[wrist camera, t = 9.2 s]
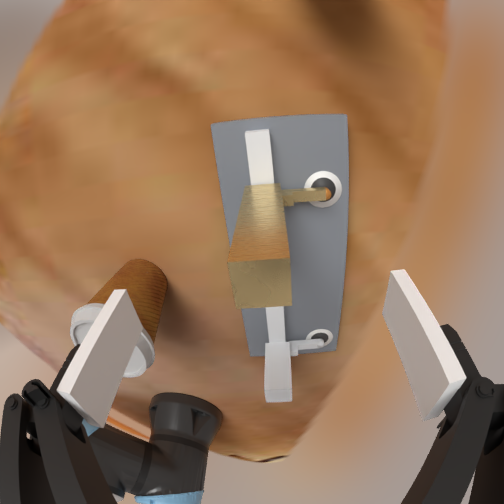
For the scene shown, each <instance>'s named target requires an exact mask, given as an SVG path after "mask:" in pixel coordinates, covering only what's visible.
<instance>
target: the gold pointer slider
mask: <svg viewBox="0 0 504 504" xmlns="http://www.w3.org/2000/svg"><path fill="white" fill-rule="evenodd" d="M330 197H331V192H330V190H329V189H328V188H327V187H316V188H300V189H285V190H281V185H280V183H272V184H260V185H249V186H245V188H244V192H243V196H242V201H241V205H240V209H239V213H238V218H237V222H236V226H235V230H234V235H233V239H232V244H231V248H230V252H229V257H228V261H227V264H228V269H229V274H230V279H231V285H232V290H233V295H234V300H235V305H236V309H245V308H264V307H280V306H292V289H291V266H290V253H289V245H288V237H287V229H286V222H285V214H284V206H294V202H308V201H325V200H328V199H330Z"/></svg>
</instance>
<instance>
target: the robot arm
mask: <svg viewBox="0 0 504 504" xmlns="http://www.w3.org/2000/svg"><path fill="white" fill-rule="evenodd" d="M382 315H383V317H384V319H385V322H386V324H387V326H388V329H389V331H390V333H391V336H392V338H393V341H394V343H395V346H396V348H397V350H398V353H399V356H400V358H401V361H402V364H403V366H404V369H405V372H406V374H407V377H408V380H409V382H410V385H411V388H412V391H413V394H414V397H415V400H416V402H417V406H418V409H419V412H420V415H421V418H422V421H425V420H429V419H432V418H435V417H438V416H439V415H440V413H441V412H442V411H443V410H444V411H445V414H446V416H445V417H444V419H443V420H442V421H441V422H440V423H439V425H438V426H437V428H439V427H440V426H441V427H440V430H439V432H438V434H437V437H436V439H435V441H434V443H433V446H432V448H431V450H430V452H429V454H428V456H427V458H426V460H425V462H424V464H423V466H422V468H421V470H420V472H419V474H418V476H417V477H416V479H415V481H414V483H413V485H412V486H411V488H410V490H409V491H408V493H407V495H406V496H405V498H404V499H403V501H402V503H401V504H460V503H461V502H462V499H463V497H464V495H465V493H466V491H467V488H468V486H469V484H470V481H471V479H472V477H473V474H474V472H475V476H474V481H473V486H472V491H471V495H470V500H469V504H504V384H494V383H493V382H492V381H491V380H490V379H488V378H486V377H481V375H480V374H479V372H478V370H477V368H476V366H475V364H474V362H473V361H472V359H471V357H470V355H469V353H468V351H467V349H465V346H464V344H463V342H461V339H460V337H459V335H458V334H457V332H456V331H455V330H454V329H453V328H452V327H451V326H450V325H448V324H446V325H442V326H439V324H438V322H437V321H436V319H435V317H434V315H433V314H432V312H431V310H430V309H429V307H428V305H427V304H426V302H425V300H424V299H423V297H422V296H421V294H420V292H419V291H418V289H417V288H416V286H415V285H414V283H413V282H412V280H411V278H410V277H409V275H408V274H407V273H406V271H405V269H403V270H394V271H391V272H390V278H389V283H388V289H387V294H386V298H385V303H384V308H383V312H382ZM142 330H143V326H142V324H141V322H140V320H139V318H138V315H137V313H136V311H135V309H134V306H133V304H132V302H131V299H130V297H129V295H128V292H127V290H126V289H118V290H114V291H113V292H112V294H111V296H110V297H109V299H108V300H107V302H106V303H105V305H104V307H103V308H102V310H101V311H100V313H99V315H98V316H97V318H96V320H95V321H94V323H93V325H92V326H91V328H90V330H89V331H88V333H87V335H86V336H85V338H84V340H83V342H82V343H81V344H77V345H76V346H75V347H74V348H73V349H72V350H71V351H70V353H69V355H68V357H67V358H66V361H65V362H64V364H63V365H62V366H63V367H62V368H61V369H60V371H59V373H58V375H57V377H56V378H55V380H54V382H53V384H52V386H51V388H50V390H49V389H48V388H47V387H46V386H45V385H44V384H43V383H42V382H41V381H40V380H38V379H34V380H31V381H29V382H28V383H27V384H26V385H25V386H24V388H23V390H22V397H23V398H24V399H25V400H24V399H23V398H22V397H21V396H20V395H19V394H12V395H10V396H9V397H8V398H7V400H6V402H5V405H4V410H3V418H2V427H1V438H0V504H117V502H119V501H122V500H123V499H124V495H125V492H128V493H131V494H134V495H136V496H135V497H134V498H135V501H136V502H137V503H141V504H201V499H202V495H203V492H204V490H203V489H204V481H205V473H206V465H207V457H208V450H209V446H210V445H211V443H212V441H213V439H214V437H215V436H216V434H217V432H218V430H219V428H220V426H221V420H222V414H221V412H220V411H219V409H218V408H216V407H215V406H214V405H212V404H210V403H208V402H206V401H204V400H202V399H199V398H196V397H193V396H189V395H184V394H178V393H162V394H158V395H155V396H154V397H153V398H152V400H151V403H150V407H149V415H150V427H151V436H150V440H149V442H146V441H144V440H142V439H139V438H137V437H134V436H132V435H130V434H127V433H125V432H123V431H121V430H118V429H116V428H114V427H112V426H110V425H108V424H106V420H107V417H108V414H109V411H110V409H111V406H112V403H113V401H114V398H115V395H116V393H117V390H118V388H119V385H120V382H121V380H122V377H123V375H124V372H125V370H126V367H127V365H128V363H129V360H130V358H131V355H132V353H133V351H134V348H135V346H136V344H137V341H138V339H139V337H140V334H141V332H142ZM27 433H29V434H30V439H28V438H27V437H26V434H27ZM475 469H476V470H475Z"/></svg>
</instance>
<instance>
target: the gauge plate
mask: <svg viewBox="0 0 504 504" xmlns="http://www.w3.org/2000/svg"><path fill="white" fill-rule="evenodd" d="M211 130H212V137H213V144H214V150H215V157H216V163H217V170H218V176H219V182H220V189H221V195H222V201H223V207H224V213H225V219H226V225H227V231H228V237H229V243H230V248H231V244H232V239H233V235H234V230H235V226H236V222H237V218H238V213H239V209H240V205H241V201H242V196H243V192H244V188H245V186H249V185H260V184H272V183H280V185H281V190H285V189H300V188H316V187H327V188H328V189H329V190H330V192H331V197H330V199H328V200H325V201H308V202H294V206H284V214H285V222H286V229H287V237H288V245H289V253H290V266H291V289H292V306H280V307H264V308H245V309H241V310H242V315H243V321H244V326H245V331H246V337H247V342H248V347H249V352H250V356H265V380H264V391H265V398H266V402H287V401H292V378H291V359H290V356H298V354H305V353H316V352H327V351H336V346H337V339H338V332H339V324H340V316H341V307H342V298H343V287H344V276H345V264H346V249H347V230H348V199H349V155H348V125H347V115H345V114H306V115H286V116H272V117H261V118H251V119H242V120H234V121H226V122H219V123H213V124H211Z"/></svg>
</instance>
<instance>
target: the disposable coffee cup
mask: <svg viewBox="0 0 504 504" xmlns="http://www.w3.org/2000/svg"><path fill="white" fill-rule="evenodd" d="M118 289H126V290H127V292H128V295H129V297H130V299H131V302H132V304H133V306H134V309H135V311H136V313H137V315H138V318H139V320H140V322H141V324H142V326H143V330H142V332H141V334H140V337H139V339H138V341H137V344H136V346H135V348H134V351H133V353H132V355H131V358H130V360H129V363H128V365H127V367H126V370H125V372H124V375H123V377H129V378H130V377H137V376H140V375H141V374H143V373H144V372H145V370H146V369H147V368H149V367H150V366H151V365H152V364H153V362H154V359H155V351H154V341H155V337H156V332H157V328H158V323H159V319H160V315H161V311H162V306H163V301H164V298H165V294H166V291H167V280H166V277H165V275H164V274H163V272H162V271H161V270H160V269H159V268H158V267H157V266H156V265H154V264H153V263H151V262H149V261H146V260H142V259H135V260H131V261H129V262H127V263H126V264H125V265H124V266H123V267H122V268H121V269H120V270H119V271H118V272H117V273H116V274H115V275H114V276H113V277H112V278H111V279H110V280H109V281H108V282H107V283H106V284H105V286H104V287H103V288H102V289H101V290H100V291H99V292H98V293H97V294H96V295H95V296H94V297H93V298H92V299H91V300H90V301H89V302H88V303H87V304H86V305H84V306H83V307H80V308H79V309H77V310H76V311H75V312H74V314H73V316H72V323H71V324H72V325H71V328H70V335H71V339H72V341H73V343H74V345H75V346H76V345H77V344H81V343H82V342H83V340H84V338H85V336H86V335H87V333H88V331H89V330H90V328H91V326H92V325H93V323H94V321H95V320H96V318H97V316H98V315H99V313H100V311H101V310H102V308H103V307H104V305H105V303H106V302H107V300H108V299H109V297H110V296H111V294H112V292H113V291H114V290H118Z"/></svg>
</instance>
